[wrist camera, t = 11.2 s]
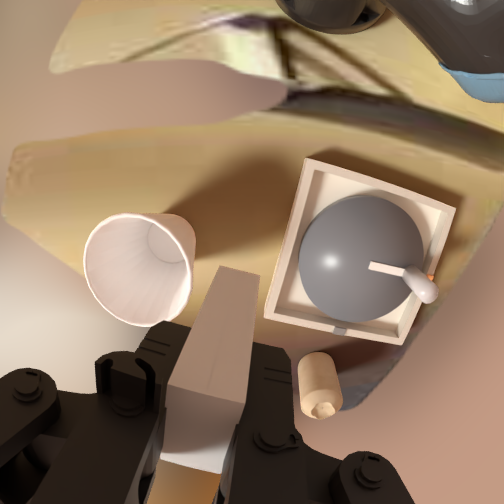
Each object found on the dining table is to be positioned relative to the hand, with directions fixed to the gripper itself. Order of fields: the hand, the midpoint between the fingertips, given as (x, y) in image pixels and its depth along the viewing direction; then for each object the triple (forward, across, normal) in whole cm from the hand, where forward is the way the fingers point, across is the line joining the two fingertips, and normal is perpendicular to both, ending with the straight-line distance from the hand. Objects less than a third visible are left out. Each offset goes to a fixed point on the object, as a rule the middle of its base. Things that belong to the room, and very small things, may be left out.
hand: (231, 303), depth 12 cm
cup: (+29, -10, -8) cm, 31 cm away
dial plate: (+28, +14, -4) cm, 32 cm away
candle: (+29, +14, -22) cm, 39 cm away
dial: (+27, +14, -4) cm, 31 cm away
